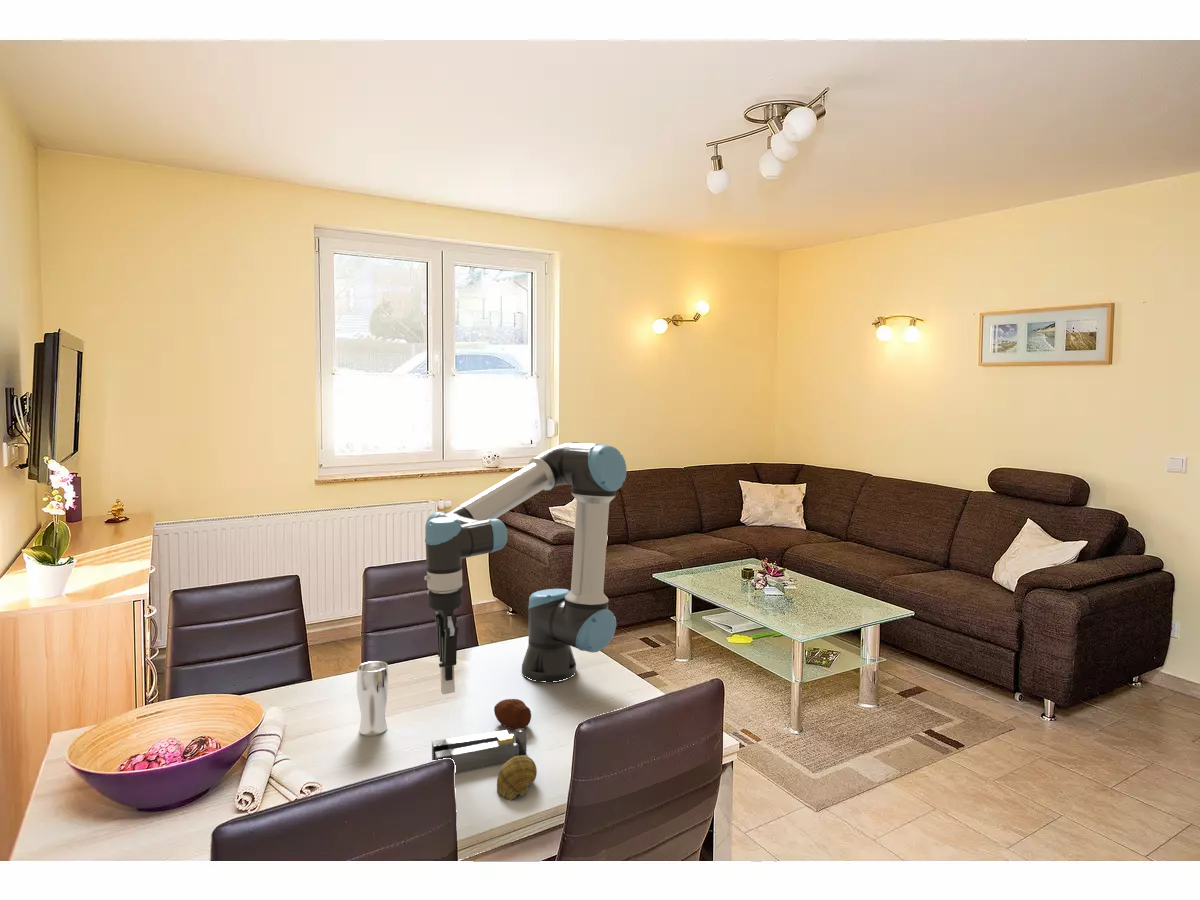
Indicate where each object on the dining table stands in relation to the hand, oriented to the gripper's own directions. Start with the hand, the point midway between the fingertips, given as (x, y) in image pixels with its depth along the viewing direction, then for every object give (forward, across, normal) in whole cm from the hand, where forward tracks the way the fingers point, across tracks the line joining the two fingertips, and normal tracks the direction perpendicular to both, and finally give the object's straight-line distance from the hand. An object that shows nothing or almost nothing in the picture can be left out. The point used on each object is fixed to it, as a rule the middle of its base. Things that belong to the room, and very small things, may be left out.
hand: (448, 691), depth 159 cm
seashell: (+11, +25, +8) cm, 28 cm away
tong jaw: (+11, +10, +3) cm, 15 cm away
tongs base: (+11, +13, +4) cm, 17 cm away
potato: (+12, -1, +15) cm, 19 cm away
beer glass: (+11, -11, -15) cm, 22 cm away
